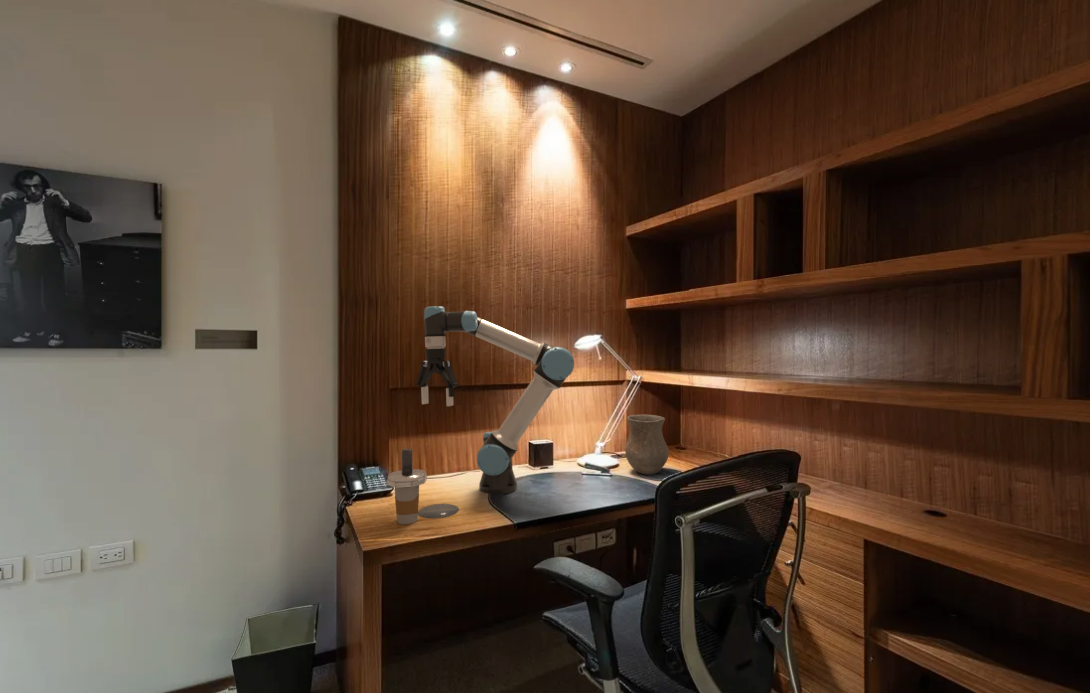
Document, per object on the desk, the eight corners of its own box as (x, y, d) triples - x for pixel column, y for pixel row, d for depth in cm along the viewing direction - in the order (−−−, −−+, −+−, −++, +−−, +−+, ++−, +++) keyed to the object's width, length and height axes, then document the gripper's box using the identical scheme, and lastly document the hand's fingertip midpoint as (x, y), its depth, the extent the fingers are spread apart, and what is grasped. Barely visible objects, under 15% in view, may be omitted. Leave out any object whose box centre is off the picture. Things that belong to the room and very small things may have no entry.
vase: (678, 475, 203) (677, 418, 203) (641, 480, 196) (641, 422, 195) (651, 464, 221) (651, 412, 221) (616, 469, 214) (616, 415, 214)
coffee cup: (397, 518, 156) (396, 473, 156) (422, 517, 157) (422, 473, 157) (391, 527, 148) (390, 481, 148) (417, 526, 149) (417, 480, 149)
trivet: (460, 504, 169) (460, 502, 169) (457, 518, 155) (457, 517, 155) (421, 506, 168) (421, 504, 168) (414, 520, 154) (414, 519, 154)
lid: (428, 475, 159) (428, 445, 159) (423, 486, 147) (422, 453, 147) (392, 477, 158) (392, 446, 158) (384, 488, 146) (383, 455, 146)
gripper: (405, 348, 177) (407, 404, 177) (451, 347, 163) (453, 408, 163) (421, 348, 183) (423, 401, 183) (466, 347, 169) (468, 405, 169)
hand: (437, 404), depth 173 cm, fingers open, 13 cm apart
